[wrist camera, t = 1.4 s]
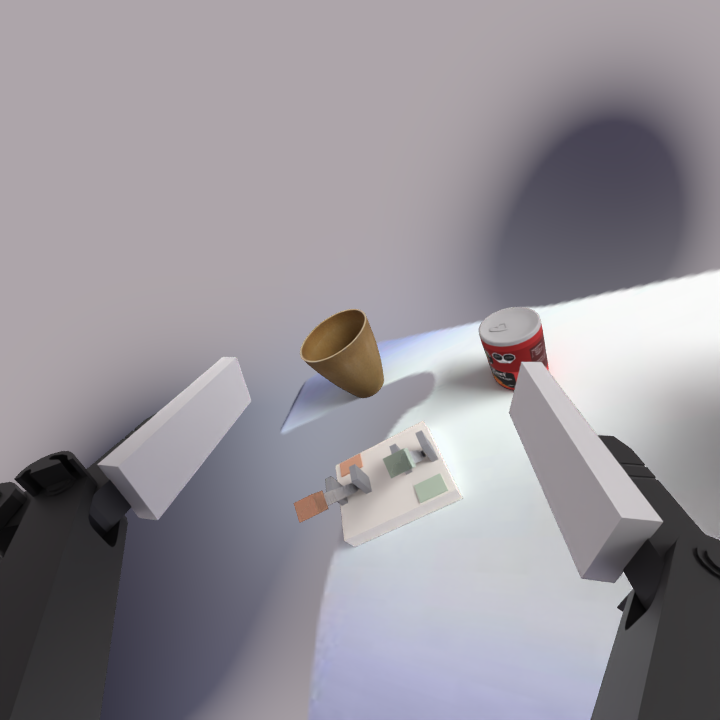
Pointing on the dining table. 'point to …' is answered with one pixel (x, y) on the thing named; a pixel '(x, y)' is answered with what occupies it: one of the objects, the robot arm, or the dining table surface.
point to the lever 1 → (322, 501)
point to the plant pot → (345, 353)
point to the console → (392, 487)
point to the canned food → (512, 342)
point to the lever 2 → (402, 461)
